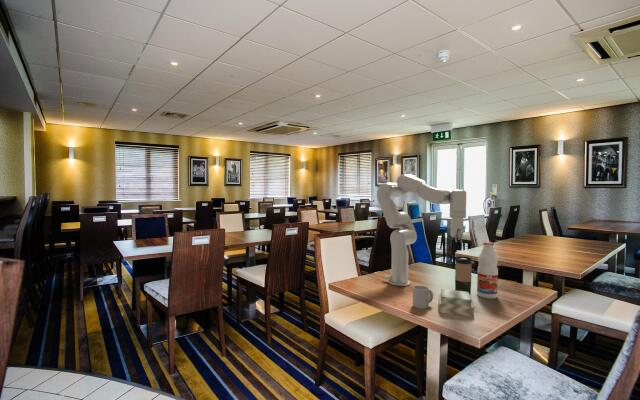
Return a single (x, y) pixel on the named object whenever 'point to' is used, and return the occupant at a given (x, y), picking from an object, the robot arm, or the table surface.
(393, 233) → the robot arm
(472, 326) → the table surface
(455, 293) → the camouflage patterned box
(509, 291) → the table surface
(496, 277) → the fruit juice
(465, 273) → the travel mug
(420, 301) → the cup
